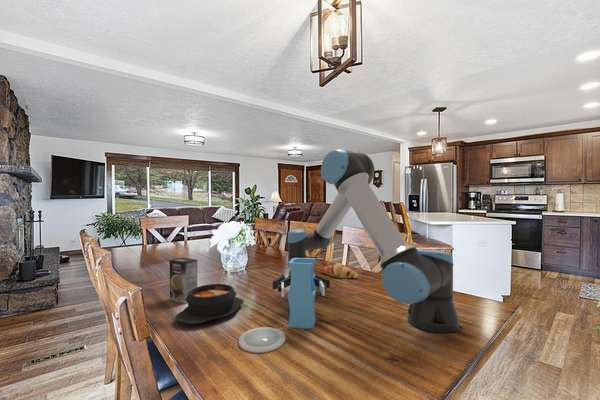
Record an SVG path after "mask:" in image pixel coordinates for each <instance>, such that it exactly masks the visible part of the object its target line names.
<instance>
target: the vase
mask: <svg viewBox="0 0 600 400" xmlns="http://www.w3.org/2000/svg"><path fill="white" fill-rule="evenodd" d="M315 264H316V258H314V257H313V258H312V257H311V258H310V257H309V258H308V257H306V258H292V259H291V260H290V261H289V267H290V273H291V284H290V286H289V289H288V293H287V301H288V305H289V319H288V324H287V325H288V326H287V327H288V328H296V329H297V328H300V329H313V328H314V326H315V324H316V321H317V318H316V312H315V302H316V296H317V295H316V294H317V287H316V286H315V283H314V279H313V276H314V270H315V268H314V267H315Z"/></svg>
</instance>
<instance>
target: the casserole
mask: <svg viewBox="0 0 600 400" xmlns="http://www.w3.org/2000/svg"><path fill="white" fill-rule="evenodd" d="M185 300H186V302H187V305H188V306H186V307H185V308H184V309H183V310H182V311H180V312H179V313H177V314H176V315H175V316H174V319H175V320H176V321H177V322H180V323H183V324H190V325H199V324H204V323H206V322H208V321H209V322H210V321H213V320H218V319H221V318H225V317H228V316H230V315H232V314H233V313H235V312H236V311H237V310H238V309H239V308H240V306H241V305H242V304H244V302H245V301H244V300H243V298H240V297H237V292H236V291H235V288H234V287H233V286H232V285H229V284H227V283H225V284H224V283H211V284H210V283H209V284H204V285H200V286H197V287H196V288H194V289H192V290H190V291H189V293H188V296H187V297H186V299H185Z"/></svg>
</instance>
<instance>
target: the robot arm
mask: <svg viewBox="0 0 600 400" xmlns="http://www.w3.org/2000/svg"><path fill="white" fill-rule="evenodd" d="M320 173H321V176H322V179H323V180H324V182H326V183H328V184H329V185H334V188H335V189H336V191H337V195H335V198H334V199H333V201H332V202H331V204H330V205H329V207H328V208H327V210H326V212H325V213H324V214H323V216H322V218H321V219H320V221H319V222H318V225H316V227H315V229H314V230H313V232H306V230H305V229H290V230H288V233H287V234H288V235H287V249H288V252H287V253H288V254H287V270H288V275H287V276H286V275H285V274H284V273H283V274H282V273H281V274H280V276H278V277H277V278H275V279H274V280H272V290H276V289H277V292H278V293H281V298H285V289H286V288H288V287H290V284H291V273H290V267H289V261H290V260H291V259H292V258H307V252H308V251H310V252H311V251H314V250H316V251H317V250H321V249H326V248H328V247H329V246H331V243H332V236H333V234H334V232H336V229H337V228H338V227H339V225H340V224H341V223H342V221H343V220H344V218H345V217H346V215H347V214H348V213H349V211H350V209H351V208H352V209H353V211H354V213H355V214H356V216H357V218H358V221H360V223H361V225H362V226H363V228H364V230H365V232H366V233H367V235H368V237H369V239H370V240H371V242H372V243H373V245H374V248H375V249H376V251H377V252H378V254H379V255H380V262H379V266H380V267H381V270H382V271H383V272H382V278H381V282H382V286H383V288H384V290H385V292H386V293H387V294H388V296H390V297H391V299H394V300H395V301H397V302H398V303H400V304H401V303H402V304H404V305H409V306H408V308H407V311H406V312H407V313H406V314H407V317H406V319H407V321H408V323H410V325H412V326H414V327H415V328H418V329H422V330H424V331H428V332H432V333H438V334H439V333H441V334H446V333H447V334H448V333H454V332H457V331H458V330H460V318H459V314H458V311H457V309H456V305H455V303H454V261H453V256H452V254H451V253H450V252H447V251H442V250H431V249H423V248H422V249H421V248H417V247H416V246H414V245H411V244H408V243H407V242H406V240H405V238H404V237H403V235H402V234H401V232H400V231H399V229H398V227H397V226H396V225H395V223H394V222H393V220H392V219H391V217H390V215H389V214H388V212H387V210H386V209H385V208H384V205H383V204H382V203H381V202H380V201H381V200H380V199H379V198H378V196H377V194H376V193H375V192H374V190H373V188H372V186H370V185H371V183H372V181H373V179H374V175H375V164H374V162H373V160H372V159H371V157H370V156H368V155H367V154H365V153H362V152H355V151H350V150H345V149H341V148H340V149H332V150H330V151H329V152H328V153H326V155H324V157H323V159H322V162H321V167H320ZM313 279H314V283H315V286H316V288H319V291H320V293H321V296H325V295H326V291H327V289H329V288H330V287H331V286H330V285H331V283H330V281H331V280H330V279H328V278H327V277H325V276H322V275H320V274H319V273H314V274H313Z"/></svg>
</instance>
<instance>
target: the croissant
mask: <svg viewBox="0 0 600 400" xmlns="http://www.w3.org/2000/svg"><path fill="white" fill-rule="evenodd" d="M321 272H322V273H324V274H325V275H326V276H328V277H332V278H337V279H357V278H359V274H358V273H357V272H356V271H355V270H353V269H352V268H351V267H350V266H345V265H344V264H343V263H341V262H334V263H333V264H330V265H328V266H324V267H323V266H322V267H321Z"/></svg>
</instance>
